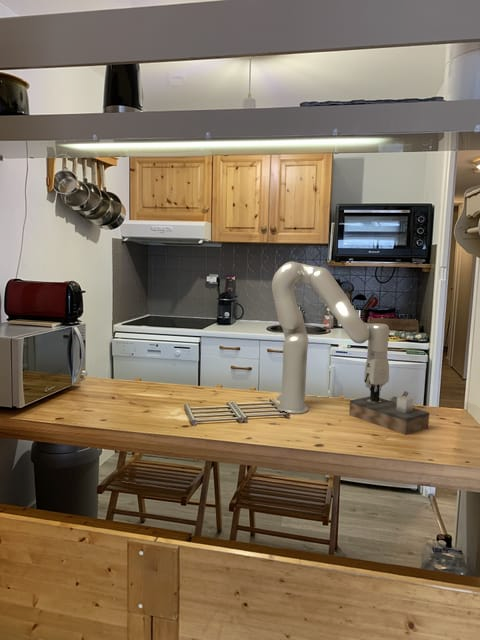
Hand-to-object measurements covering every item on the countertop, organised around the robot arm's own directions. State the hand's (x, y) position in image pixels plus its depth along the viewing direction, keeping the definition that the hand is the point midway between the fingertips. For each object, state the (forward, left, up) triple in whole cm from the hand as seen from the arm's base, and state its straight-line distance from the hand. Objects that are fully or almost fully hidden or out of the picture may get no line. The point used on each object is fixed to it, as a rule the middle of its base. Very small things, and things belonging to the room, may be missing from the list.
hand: (374, 400), depth 191 cm
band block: (+7, 0, -7) cm, 9 cm away
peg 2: (+14, 0, -2) cm, 14 cm away
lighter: (-1, +18, -7) cm, 19 cm away
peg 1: (0, 0, -6) cm, 6 cm away
